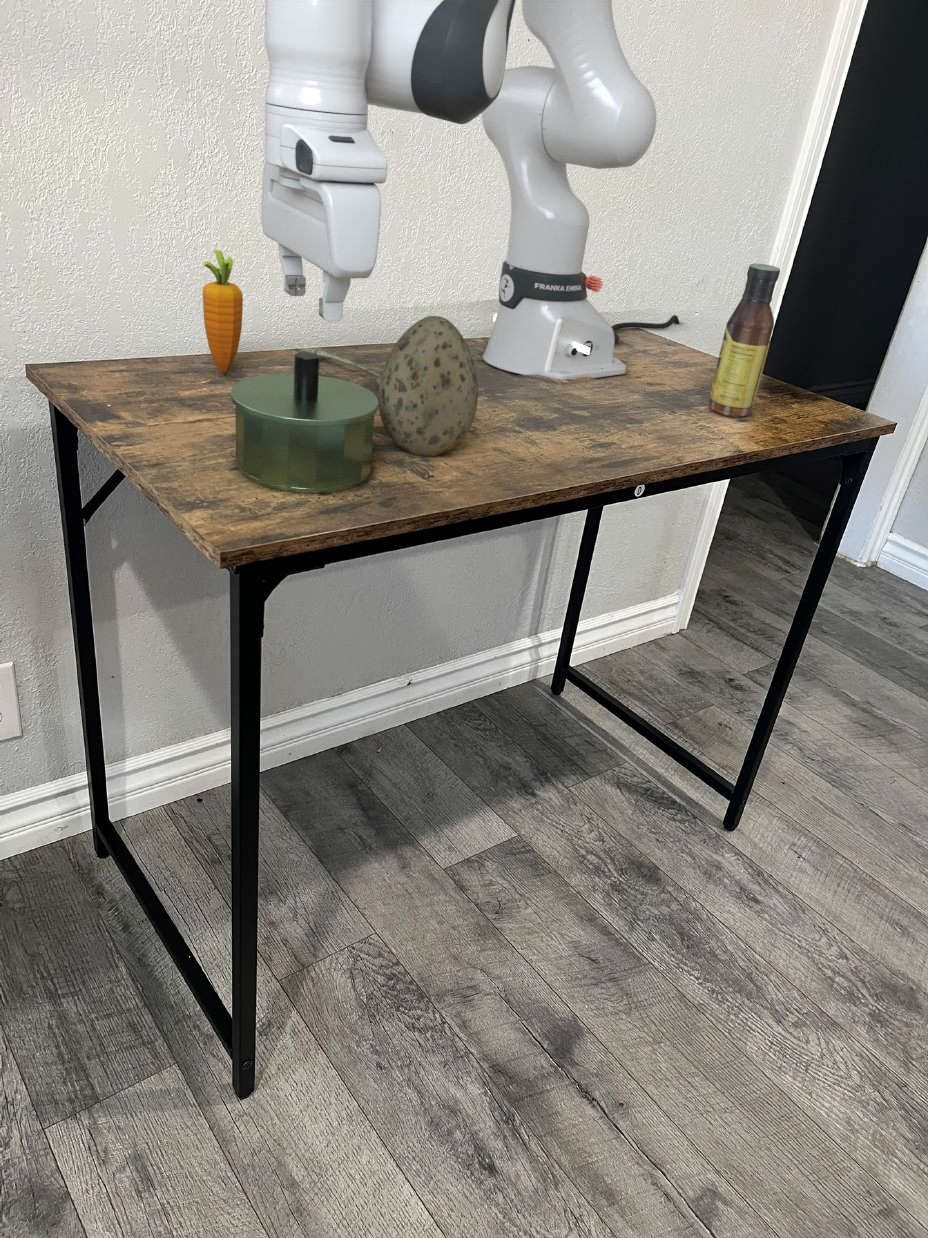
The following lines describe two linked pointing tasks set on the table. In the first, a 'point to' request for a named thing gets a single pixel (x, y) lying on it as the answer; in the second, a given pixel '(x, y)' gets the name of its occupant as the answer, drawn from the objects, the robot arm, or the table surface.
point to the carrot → (222, 314)
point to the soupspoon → (328, 355)
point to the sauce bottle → (745, 345)
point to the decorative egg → (428, 388)
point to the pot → (303, 454)
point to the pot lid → (304, 396)
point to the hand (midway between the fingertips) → (311, 306)
